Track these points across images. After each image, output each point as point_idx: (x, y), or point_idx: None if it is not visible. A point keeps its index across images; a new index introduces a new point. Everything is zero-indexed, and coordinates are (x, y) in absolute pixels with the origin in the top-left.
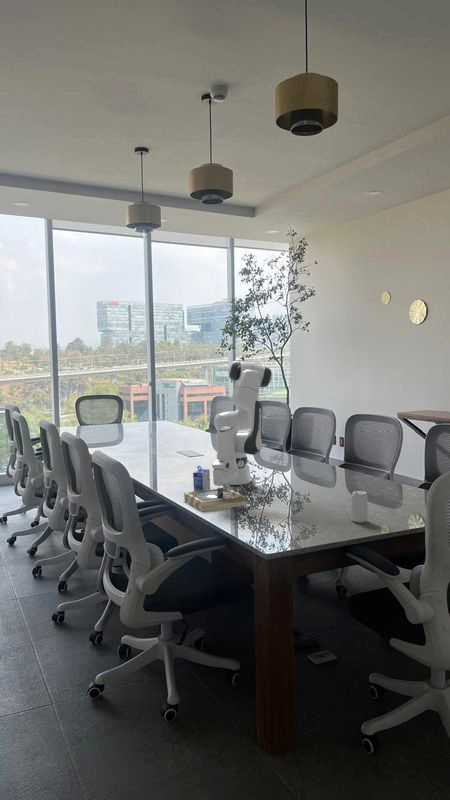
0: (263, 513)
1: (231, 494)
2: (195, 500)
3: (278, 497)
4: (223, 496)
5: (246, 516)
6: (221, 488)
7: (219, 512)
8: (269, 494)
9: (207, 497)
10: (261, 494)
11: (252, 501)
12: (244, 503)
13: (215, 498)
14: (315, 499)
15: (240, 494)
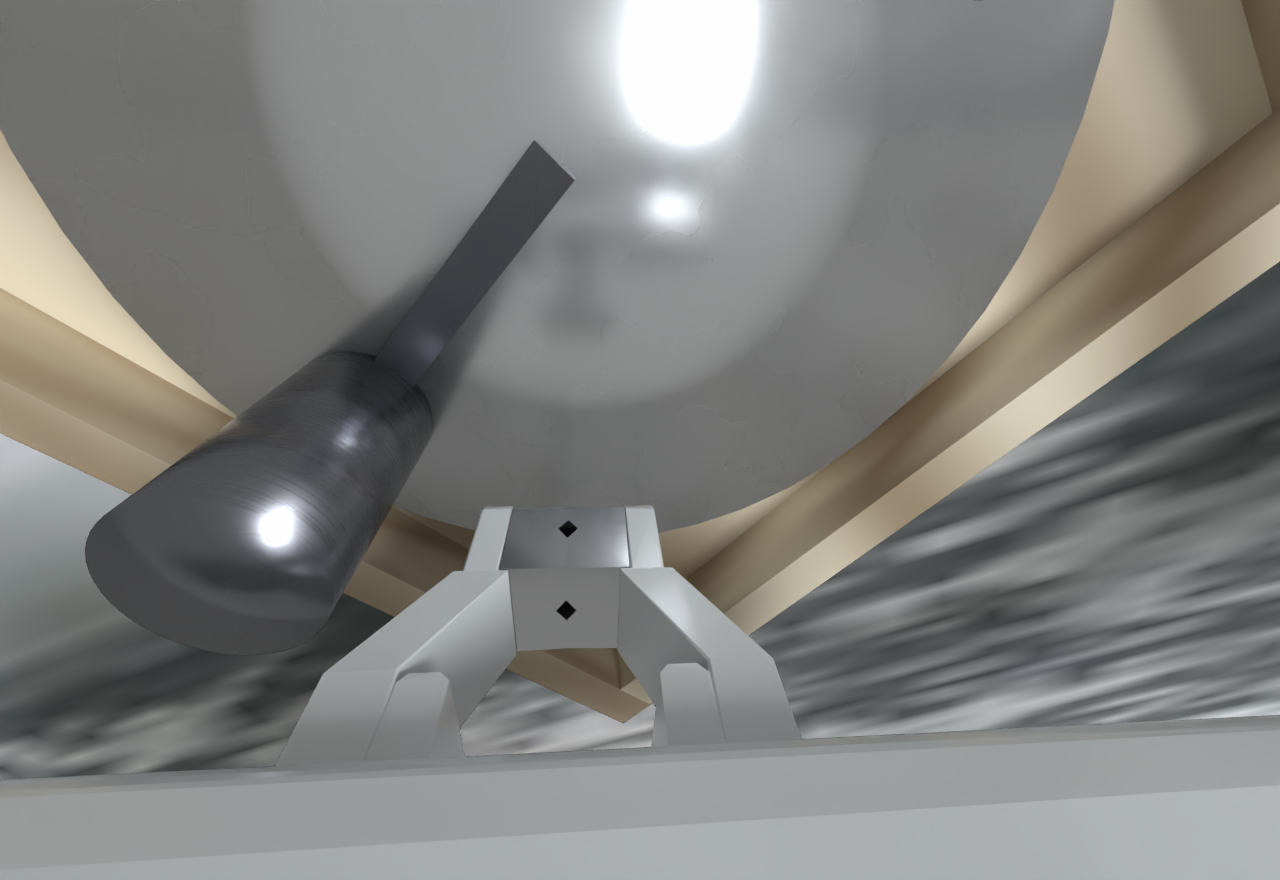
0: None
1: (749, 490)
2: None
3: (1025, 719)
4: (518, 423)
5: (199, 749)
6: (202, 633)
7: (81, 485)
8: (1179, 631)
9: (156, 34)
10: (1200, 571)
11: (831, 604)
12: None
13: (233, 336)
14: None
15: (751, 623)
